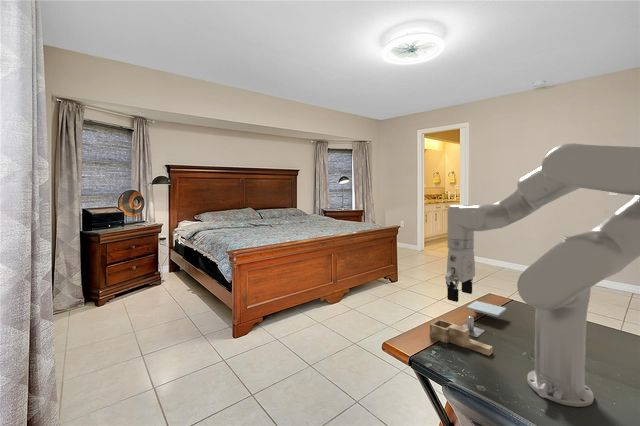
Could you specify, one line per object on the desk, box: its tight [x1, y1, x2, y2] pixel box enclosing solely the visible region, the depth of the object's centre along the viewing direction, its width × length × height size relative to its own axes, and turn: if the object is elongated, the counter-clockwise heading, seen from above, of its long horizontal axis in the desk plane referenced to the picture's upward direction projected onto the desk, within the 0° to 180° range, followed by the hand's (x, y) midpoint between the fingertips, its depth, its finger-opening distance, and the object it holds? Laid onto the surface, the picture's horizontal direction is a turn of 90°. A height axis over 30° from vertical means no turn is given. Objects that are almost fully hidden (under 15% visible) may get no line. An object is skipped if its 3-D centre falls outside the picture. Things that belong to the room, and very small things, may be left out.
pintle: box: [460, 315, 486, 338], centre depth 103 cm, size 7×7×5 cm
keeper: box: [465, 300, 507, 318], centre depth 113 cm, size 9×11×4 cm
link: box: [429, 318, 493, 357], centre depth 95 cm, size 18×6×5 cm, turn 40°
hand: (460, 296), depth 94 cm, fingers open, 9 cm apart
